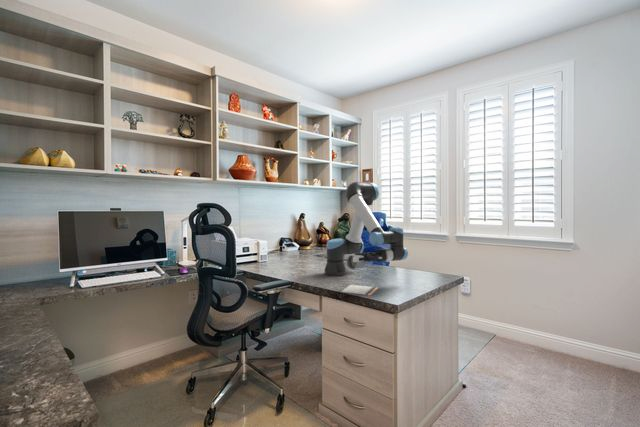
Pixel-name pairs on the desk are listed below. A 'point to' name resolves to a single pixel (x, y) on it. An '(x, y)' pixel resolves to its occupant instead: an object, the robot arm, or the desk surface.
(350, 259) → the ceramic mug
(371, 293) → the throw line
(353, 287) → the pad
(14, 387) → the desk surface
